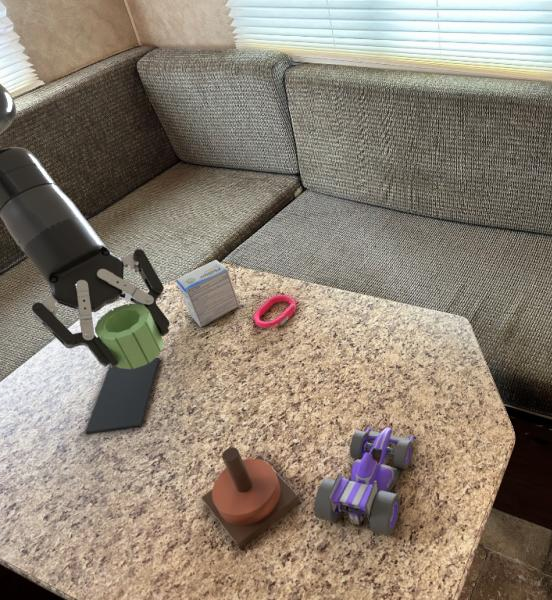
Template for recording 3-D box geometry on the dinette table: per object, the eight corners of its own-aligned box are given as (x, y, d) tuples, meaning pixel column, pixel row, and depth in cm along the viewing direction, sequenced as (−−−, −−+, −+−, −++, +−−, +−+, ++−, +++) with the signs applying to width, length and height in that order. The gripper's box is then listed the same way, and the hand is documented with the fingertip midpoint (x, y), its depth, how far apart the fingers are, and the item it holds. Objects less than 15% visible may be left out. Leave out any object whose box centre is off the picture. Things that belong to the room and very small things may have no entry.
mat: (140, 427, 89) (139, 424, 89) (86, 434, 89) (84, 431, 89) (160, 359, 100) (159, 357, 100) (111, 366, 100) (110, 363, 100)
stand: (240, 550, 73) (215, 503, 66) (204, 503, 79) (178, 455, 72) (300, 502, 77) (283, 453, 71) (262, 461, 83) (243, 411, 76)
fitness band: (275, 333, 103) (273, 327, 102) (248, 324, 105) (246, 318, 104) (302, 304, 108) (301, 298, 107) (276, 296, 110) (275, 290, 109)
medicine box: (229, 296, 112) (216, 258, 106) (241, 307, 109) (228, 268, 103) (190, 316, 108) (174, 278, 102) (201, 328, 105) (185, 290, 100)
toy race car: (424, 442, 83) (421, 412, 79) (390, 543, 72) (384, 514, 68) (359, 429, 85) (352, 399, 81) (317, 525, 75) (307, 496, 71)
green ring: (124, 377, 70) (107, 346, 67) (104, 351, 74) (87, 321, 71) (172, 350, 73) (157, 319, 70) (150, 326, 77) (135, 296, 74)
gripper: (-14, 253, 64) (84, 380, 65) (112, 193, 71) (198, 309, 72) (-6, 274, 70) (83, 390, 71) (109, 217, 78) (188, 323, 79)
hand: (141, 348), depth 72 cm, fingers closed on green ring, 6 cm apart
